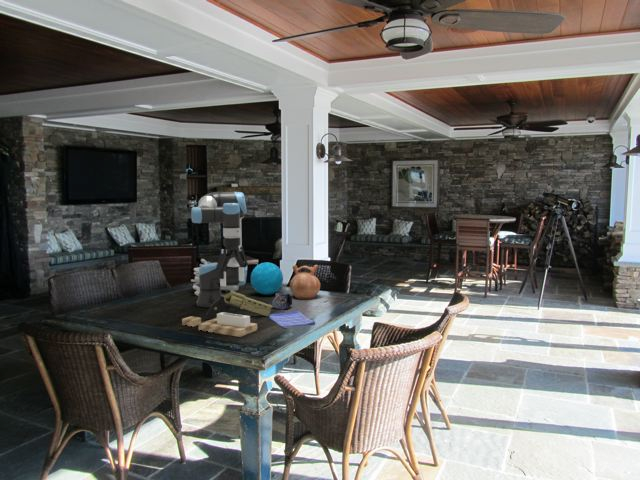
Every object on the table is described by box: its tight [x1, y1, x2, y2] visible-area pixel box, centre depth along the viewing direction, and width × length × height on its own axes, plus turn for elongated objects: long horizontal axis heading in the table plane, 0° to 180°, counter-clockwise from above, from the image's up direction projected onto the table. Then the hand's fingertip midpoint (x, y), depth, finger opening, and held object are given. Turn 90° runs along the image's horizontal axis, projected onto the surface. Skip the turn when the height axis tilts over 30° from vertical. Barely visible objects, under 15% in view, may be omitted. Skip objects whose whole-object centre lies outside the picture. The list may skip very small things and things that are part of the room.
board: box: [197, 317, 258, 338], centre depth 246 cm, size 24×13×3 cm, turn 61°
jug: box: [289, 264, 321, 300], centre depth 319 cm, size 18×18×20 cm
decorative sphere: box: [250, 261, 284, 296], centre depth 327 cm, size 20×20×20 cm
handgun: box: [206, 290, 274, 320], centre depth 270 cm, size 4×30×16 cm, turn 104°
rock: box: [272, 292, 293, 310], centre depth 292 cm, size 11×10×10 cm
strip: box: [216, 312, 251, 328], centre depth 244 cm, size 16×4×7 cm, turn 61°
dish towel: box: [268, 310, 316, 329], centre depth 263 cm, size 17×24×3 cm
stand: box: [181, 316, 202, 327], centre depth 256 cm, size 7×6×3 cm
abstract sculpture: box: [190, 258, 240, 297], centre depth 334 cm, size 23×23×30 cm
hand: (232, 283), depth 242 cm, fingers open, 13 cm apart
